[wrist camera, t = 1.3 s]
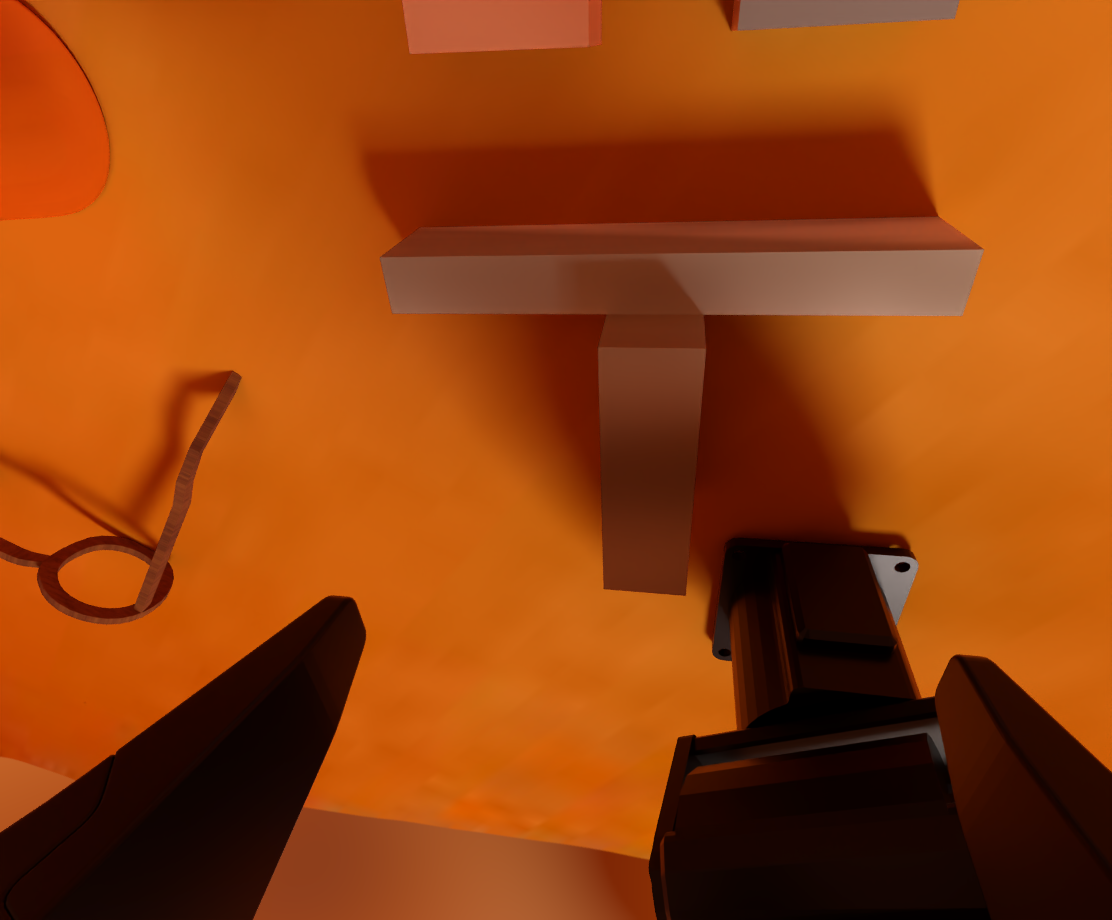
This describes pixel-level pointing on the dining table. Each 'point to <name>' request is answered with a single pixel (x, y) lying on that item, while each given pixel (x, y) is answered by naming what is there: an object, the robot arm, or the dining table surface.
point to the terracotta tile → (501, 24)
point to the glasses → (127, 541)
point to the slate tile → (835, 12)
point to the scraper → (674, 328)
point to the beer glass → (46, 123)
